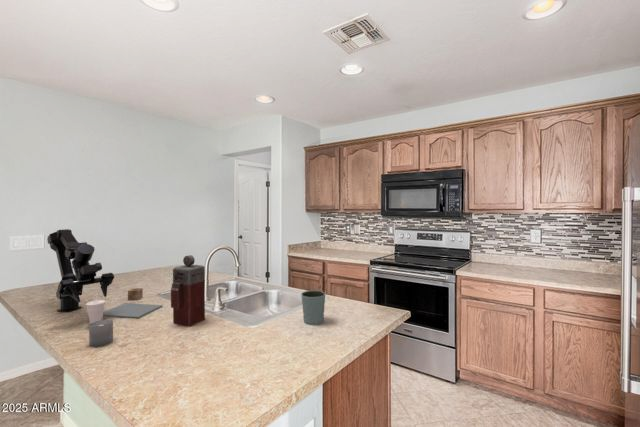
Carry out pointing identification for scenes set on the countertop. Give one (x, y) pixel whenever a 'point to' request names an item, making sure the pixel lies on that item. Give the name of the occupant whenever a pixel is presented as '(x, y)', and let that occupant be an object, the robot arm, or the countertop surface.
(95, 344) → the grey rounded canister
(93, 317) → the smoothie
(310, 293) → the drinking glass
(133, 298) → the walnut block
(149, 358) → the countertop surface
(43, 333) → the countertop surface
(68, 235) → the robot arm
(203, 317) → the french press
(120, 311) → the slate mat
